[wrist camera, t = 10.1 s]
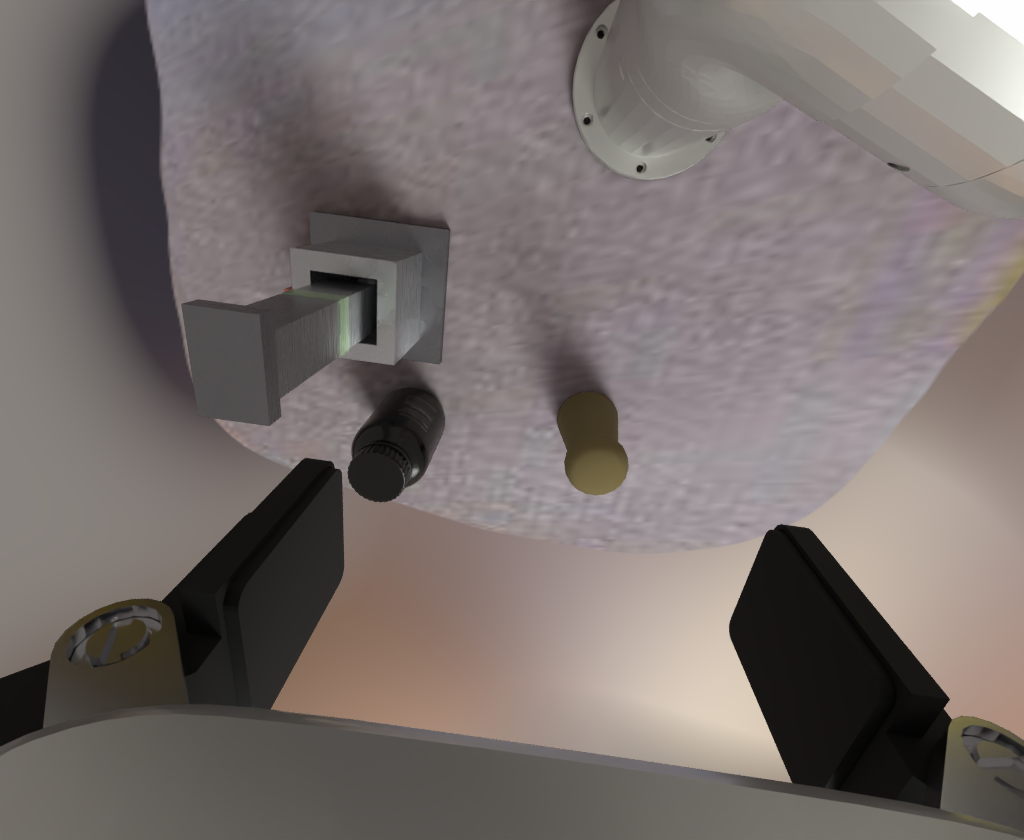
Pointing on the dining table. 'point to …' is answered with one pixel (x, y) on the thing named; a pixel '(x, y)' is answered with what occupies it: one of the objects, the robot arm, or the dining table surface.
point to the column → (271, 345)
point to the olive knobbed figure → (592, 443)
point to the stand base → (383, 280)
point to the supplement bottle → (395, 444)
